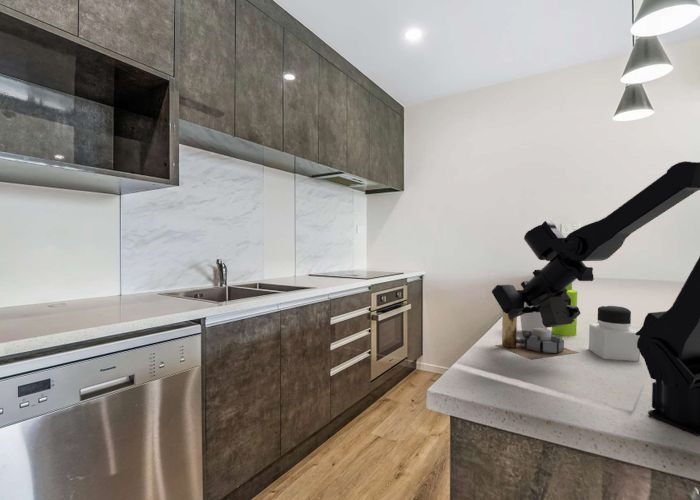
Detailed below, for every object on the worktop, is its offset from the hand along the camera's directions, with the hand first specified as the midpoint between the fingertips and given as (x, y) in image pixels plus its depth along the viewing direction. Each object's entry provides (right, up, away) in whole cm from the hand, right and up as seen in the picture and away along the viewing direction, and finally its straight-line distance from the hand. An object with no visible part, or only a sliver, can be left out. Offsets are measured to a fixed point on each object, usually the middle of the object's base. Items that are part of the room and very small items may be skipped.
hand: (509, 317), depth 84 cm
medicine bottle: (+22, -9, -3) cm, 24 cm away
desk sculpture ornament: (+6, -7, +1) cm, 9 cm away
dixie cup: (+13, -8, +15) cm, 22 cm away
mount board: (+7, -9, +1) cm, 11 cm away
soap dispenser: (+22, -9, +15) cm, 28 cm away
